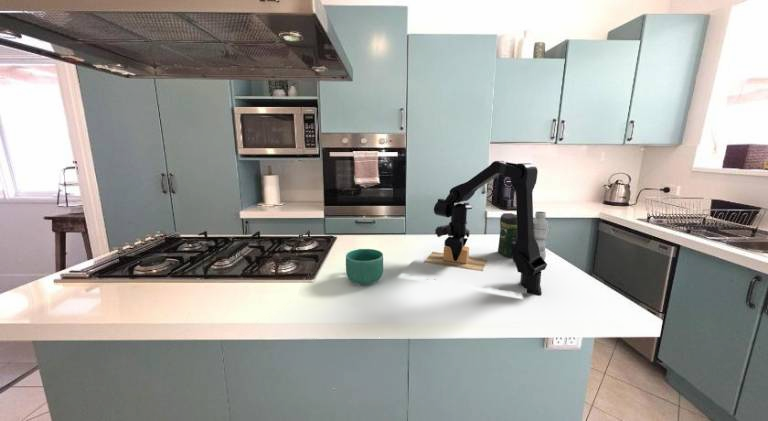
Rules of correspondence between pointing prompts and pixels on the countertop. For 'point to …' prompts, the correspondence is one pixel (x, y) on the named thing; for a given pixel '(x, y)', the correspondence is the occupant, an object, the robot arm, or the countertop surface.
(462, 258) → the block
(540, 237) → the plastic bottle
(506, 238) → the coffee jar
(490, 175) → the robot arm
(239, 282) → the countertop surface
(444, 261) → the oak board
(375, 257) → the mug
